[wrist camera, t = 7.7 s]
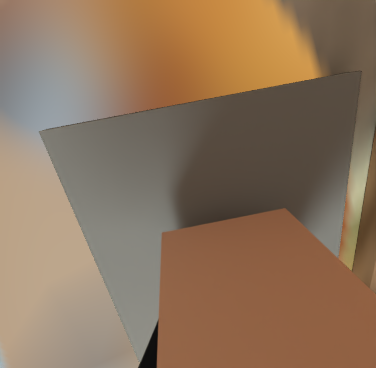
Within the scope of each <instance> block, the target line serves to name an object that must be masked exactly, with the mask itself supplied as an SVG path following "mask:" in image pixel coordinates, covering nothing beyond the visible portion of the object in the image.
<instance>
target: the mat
mask: <svg viewBox="0 0 376 368" xmlns="http://www.w3.org/2000/svg"><path fill="white" fill-rule="evenodd" d="M361 72H362V71H355V72H348V73H342V74H337V75H332V76H327V77H321V78H316V79H311V80H305V81H301V82H295V83H289V84H284V85H279V86H274V87H269V88H263V89H258V90H252V91H247V92H242V93H237V94H231V95H226V96H221V97H215V98H210V99H204V100H199V101H194V102H189V103H184V104H178V105H173V106H167V107H162V108H157V109H151V110H146V111H141V112H135V113H131V114H125V115H120V116H114V117H109V118H104V119H99V120H94V121H88V122H82V123H77V124H72V125H66V126H61V127H57V128H51V129H46V130H43V131H39V133H40V135H41V138H42V140H43V142H44V144H45V147H46V149H47V151H48V154H49V156H50V158H51V161H52V163H53V165H54V168H55V170H56V172H57V174H58V177H59V179H60V181H61V183H62V186H63V188H64V190H65V193H66V195H67V197H68V200H69V202H70V204H71V207H72V209H73V211H74V213H75V216H76V218H77V220H78V223H79V225H80V227H81V230H82V232H83V234H84V237H85V239H86V241H87V243H88V246H89V248H90V250H91V253H92V255H93V257H94V260H95V262H96V264H97V266H98V269H99V271H100V273H101V275H102V278H103V280H104V283H105V285H106V287H107V289H108V291H109V294H110V296H111V299H112V301H113V303H114V306H115V308H116V310H117V312H118V315H119V317H120V319H121V322H122V324H123V326H124V329H125V331H126V333H127V335H128V338H129V340H130V342H131V345H132V347H133V349H134V352H135V354H136V356H137V358H138V360H139V362H140V361H141V359H142V357H143V355H144V352H145V350H146V347H147V345H148V343H149V340H150V338H151V335H152V333H153V331H154V328H155V326H156V323H157V321H158V319H159V293H160V266H161V238H162V232H168V231H173V230H178V229H183V228H188V227H193V226H198V225H203V224H208V223H213V222H218V221H223V220H228V219H233V218H238V217H243V216H248V215H253V214H258V213H263V212H268V211H273V210H278V209H283V208H286V209H287V210H288V211H289V212H290V213H291V214H292V215H293V216H294V217H295V218H296V219H297V220H298V221H299V222H300V223H301V224H303V225H304V226H305V227H306V228H307V229H308V230H309V231H310V232H311V233H312V234H313V235H314V236H315V237H316V238H317V239H318V240H319V241H320V242H321V243H322V244H324V245H325V246H326V247H327V248H328V249H329V250H330V251H331V252H332V253H333V254H334V255H335V256H336V257H337V258H338V256H339V248H340V240H341V232H342V224H343V216H344V208H345V200H346V192H347V184H348V176H349V168H350V160H351V152H352V144H353V136H354V128H355V120H356V112H357V104H358V96H359V88H360V80H361Z"/></svg>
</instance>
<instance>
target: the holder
mask: <svg viewBox="0 0 376 368" xmlns="http://www.w3.org/2000/svg"><path fill="white" fill-rule="evenodd" d="M352 272H353V273H354V274H355V275H356V276H357V277H358V278H359V279H360V280H361V281H362V282H363V283H364V284H365V285H367V286H368V287H369V288H370V289H371V290H372V291H373V292H374V293H375V294H376V129H375V135H374V141H373V147H372V154H371V160H370V166H369V172H368V178H367V184H366V191H365V197H364V203H363V209H362V215H361V221H360V228H359V234H358V240H357V246H356V252H355V258H354V265H353V271H352Z"/></svg>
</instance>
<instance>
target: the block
mask: <svg viewBox="0 0 376 368" xmlns="http://www.w3.org/2000/svg"><path fill="white" fill-rule="evenodd" d="M157 368H376V294H375V293H374V292H373V291H372V290H371V289H370V288H369V287H368V286H367V285H365V284H364V283H363V282H362V281H361V280H360V279H359V278H358V277H357V276H356V275H355V274H354V273H353V272H352V271H351V270H350V269H349V268H348V267H347V266H346V265H345V264H343V263H342V262H341V261H340V260H339V259H338V258H337V257H336V256H335V255H334V254H333V253H332V252H331V251H330V250H329V249H328V248H327V247H326V246H325V245H324V244H322V243H321V242H320V241H319V240H318V239H317V238H316V237H315V236H314V235H313V234H312V233H311V232H310V231H309V230H308V229H307V228H306V227H305V226H304V225H303V224H301V223H300V222H299V221H298V220H297V219H296V218H295V217H294V216H293V215H292V214H291V213H290V212H289V211H288V210H287V209H286V208H283V209H278V210H273V211H268V212H263V213H258V214H253V215H248V216H243V217H238V218H233V219H228V220H223V221H218V222H213V223H208V224H203V225H198V226H193V227H188V228H183V229H178V230H173V231H168V232H162V238H161V266H160V293H159V321H158V349H157Z"/></svg>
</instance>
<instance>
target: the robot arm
mask: <svg viewBox="0 0 376 368" xmlns="http://www.w3.org/2000/svg"><path fill="white" fill-rule="evenodd" d="M158 321H159V319H158ZM158 321H157V323H156V326H155V328H154V331H153V333H152V335H151V338H150V340H149V343H148V345H147V347H146V350H145V352H144V355H143V357H142V359H141V362H140V364H139V367H138V368H157V349H158Z"/></svg>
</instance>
